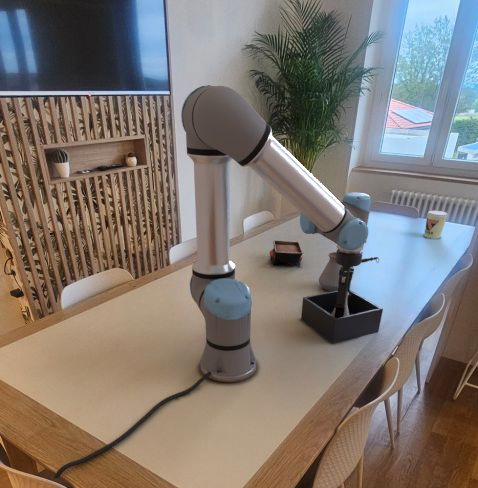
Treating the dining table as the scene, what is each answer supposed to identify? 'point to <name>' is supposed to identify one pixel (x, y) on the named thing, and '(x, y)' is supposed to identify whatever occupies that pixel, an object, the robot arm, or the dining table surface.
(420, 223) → the dining table surface
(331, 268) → the coffee pot
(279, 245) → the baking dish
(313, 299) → the dark grey open box
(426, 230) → the coffee cup
